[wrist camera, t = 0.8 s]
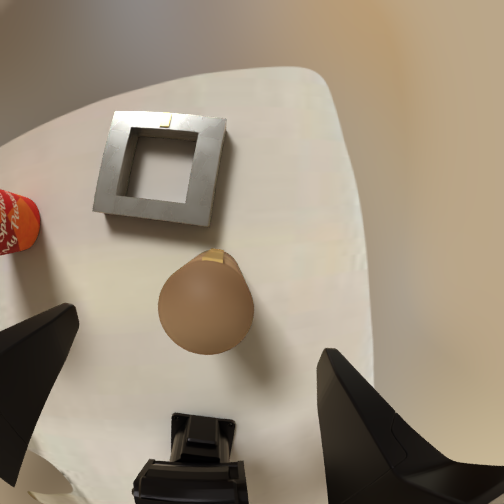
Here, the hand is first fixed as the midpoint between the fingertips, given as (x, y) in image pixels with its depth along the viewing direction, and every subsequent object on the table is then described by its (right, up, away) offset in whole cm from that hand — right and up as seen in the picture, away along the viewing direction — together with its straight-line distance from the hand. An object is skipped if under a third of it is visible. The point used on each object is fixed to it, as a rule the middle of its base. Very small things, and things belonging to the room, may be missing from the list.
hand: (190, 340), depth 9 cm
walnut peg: (-1, +1, +16) cm, 16 cm away
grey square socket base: (-6, +10, +15) cm, 19 cm away
